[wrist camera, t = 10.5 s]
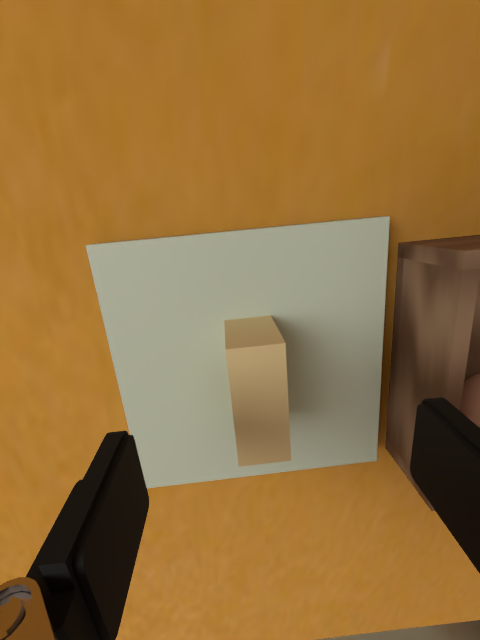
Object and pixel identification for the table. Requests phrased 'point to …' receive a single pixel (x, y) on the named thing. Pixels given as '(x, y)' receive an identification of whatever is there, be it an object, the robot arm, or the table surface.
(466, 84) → the table surface
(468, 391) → the terracotta ball
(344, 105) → the table surface
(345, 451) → the lid
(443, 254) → the walnut box
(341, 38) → the table surface
